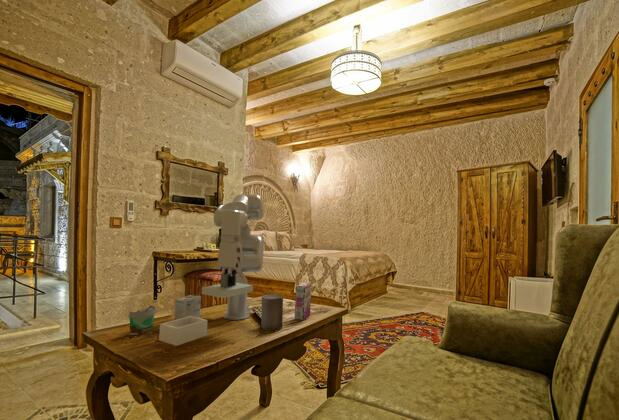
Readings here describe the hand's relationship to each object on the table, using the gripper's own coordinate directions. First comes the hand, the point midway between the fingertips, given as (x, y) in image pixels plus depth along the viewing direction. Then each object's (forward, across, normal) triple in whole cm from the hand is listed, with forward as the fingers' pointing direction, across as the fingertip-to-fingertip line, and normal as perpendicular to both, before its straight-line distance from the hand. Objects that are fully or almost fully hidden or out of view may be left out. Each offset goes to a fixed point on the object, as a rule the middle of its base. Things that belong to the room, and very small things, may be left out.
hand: (228, 284), depth 129 cm
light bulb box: (+21, +31, -5) cm, 38 cm away
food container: (+21, +28, +17) cm, 39 cm away
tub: (+21, +10, +13) cm, 26 cm away
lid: (+3, 0, 0) cm, 3 cm away
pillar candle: (+21, -6, -21) cm, 31 cm away
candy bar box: (+21, -8, -43) cm, 49 cm away
